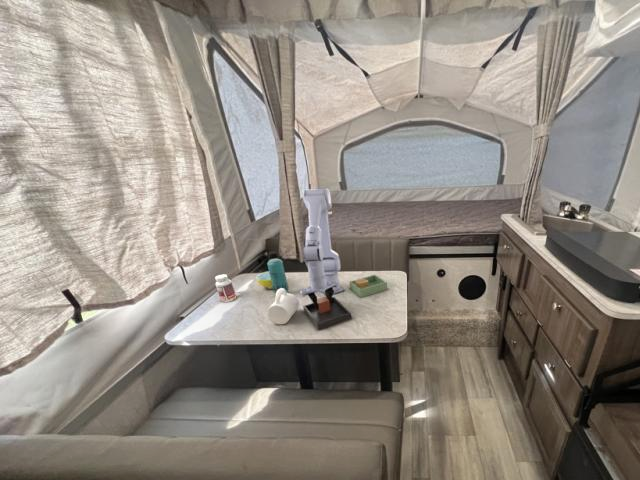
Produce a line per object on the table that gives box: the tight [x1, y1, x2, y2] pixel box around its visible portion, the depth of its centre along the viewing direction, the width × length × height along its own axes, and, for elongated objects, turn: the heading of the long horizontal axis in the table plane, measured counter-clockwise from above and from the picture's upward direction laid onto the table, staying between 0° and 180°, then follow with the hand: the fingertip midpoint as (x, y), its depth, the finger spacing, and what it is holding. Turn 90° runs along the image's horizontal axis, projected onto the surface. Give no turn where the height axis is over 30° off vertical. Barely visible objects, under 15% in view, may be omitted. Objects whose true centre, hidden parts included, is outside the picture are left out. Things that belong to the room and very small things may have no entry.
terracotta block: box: [317, 296, 331, 313], centre depth 124 cm, size 4×4×4 cm
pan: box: [302, 296, 352, 331], centre depth 122 cm, size 17×13×2 cm
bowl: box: [255, 270, 274, 290], centre depth 147 cm, size 11×12×6 cm
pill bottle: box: [214, 273, 237, 303], centre depth 137 cm, size 6×6×11 cm
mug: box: [266, 288, 300, 325], centre depth 119 cm, size 8×10×12 cm
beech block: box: [355, 277, 369, 289], centre depth 139 cm, size 4×4×4 cm
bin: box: [349, 274, 388, 298], centre depth 141 cm, size 11×13×4 cm
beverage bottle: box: [266, 251, 290, 295], centre depth 136 cm, size 6×7×20 cm
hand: (323, 307), depth 125 cm, fingers closed on terracotta block, 4 cm apart
